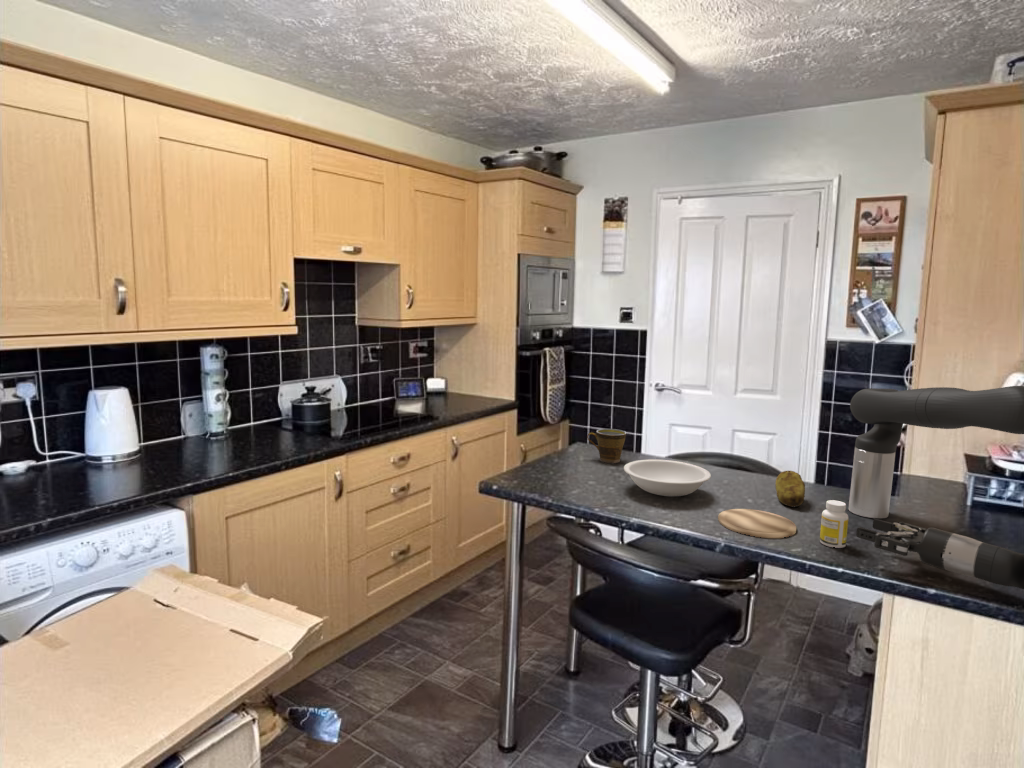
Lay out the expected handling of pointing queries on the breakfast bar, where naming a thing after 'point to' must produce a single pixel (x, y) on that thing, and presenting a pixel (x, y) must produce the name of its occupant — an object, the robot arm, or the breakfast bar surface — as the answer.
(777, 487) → the potato
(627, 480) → the breakfast bar surface
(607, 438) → the ceramic cup
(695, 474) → the soup bowl
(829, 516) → the supplement bottle
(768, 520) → the round wooden board
